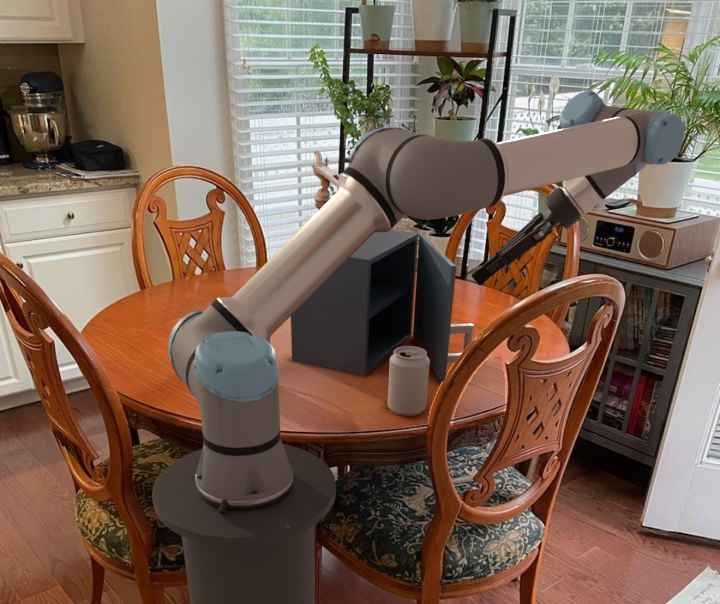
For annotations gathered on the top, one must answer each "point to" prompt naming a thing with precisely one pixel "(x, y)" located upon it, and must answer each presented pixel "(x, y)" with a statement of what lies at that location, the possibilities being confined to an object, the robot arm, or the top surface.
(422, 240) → the cupboard door
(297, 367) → the top surface
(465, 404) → the top surface
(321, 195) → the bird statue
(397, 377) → the can
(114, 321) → the top surface
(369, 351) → the cupboard
